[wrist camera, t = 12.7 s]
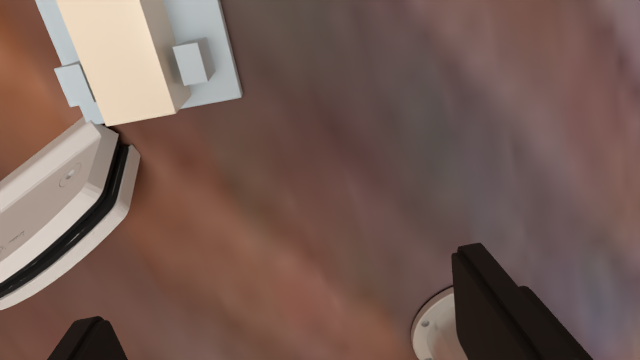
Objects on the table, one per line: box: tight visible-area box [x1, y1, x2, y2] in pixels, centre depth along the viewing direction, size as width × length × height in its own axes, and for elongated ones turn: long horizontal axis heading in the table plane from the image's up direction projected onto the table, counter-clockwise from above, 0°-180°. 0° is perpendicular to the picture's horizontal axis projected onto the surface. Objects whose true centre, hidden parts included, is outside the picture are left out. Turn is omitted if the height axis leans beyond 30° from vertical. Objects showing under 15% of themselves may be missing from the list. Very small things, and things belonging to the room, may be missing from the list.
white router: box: [0, 117, 140, 310], centre depth 32 cm, size 17×5×10 cm, turn 124°
